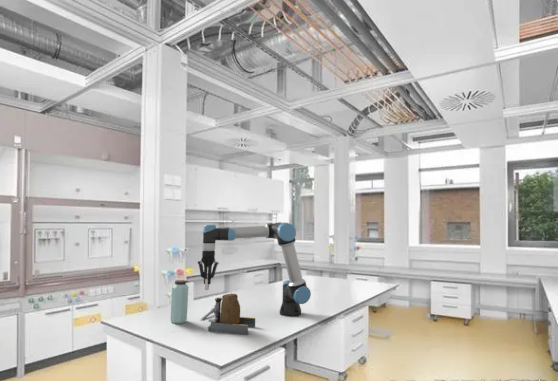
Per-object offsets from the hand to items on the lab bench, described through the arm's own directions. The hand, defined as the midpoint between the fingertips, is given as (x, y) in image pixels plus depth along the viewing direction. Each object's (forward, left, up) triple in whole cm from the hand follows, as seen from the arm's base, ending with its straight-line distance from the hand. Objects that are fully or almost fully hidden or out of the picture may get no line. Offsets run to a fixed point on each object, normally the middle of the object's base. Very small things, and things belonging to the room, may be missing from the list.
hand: (206, 289), depth 220 cm
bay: (-18, 0, -22) cm, 28 cm away
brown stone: (-16, 0, -22) cm, 27 cm away
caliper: (+6, -21, -22) cm, 31 cm away
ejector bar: (-8, 0, -21) cm, 23 cm away
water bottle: (+19, -4, -22) cm, 29 cm away
